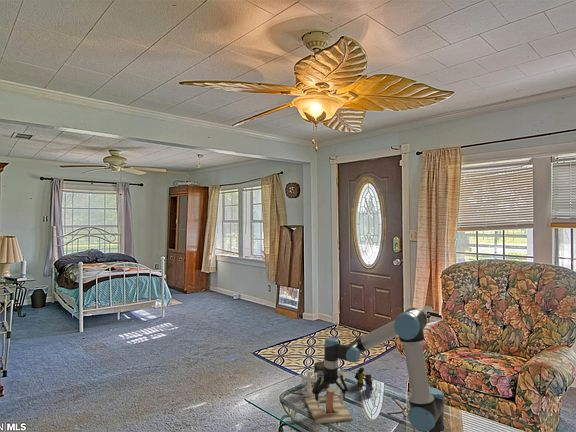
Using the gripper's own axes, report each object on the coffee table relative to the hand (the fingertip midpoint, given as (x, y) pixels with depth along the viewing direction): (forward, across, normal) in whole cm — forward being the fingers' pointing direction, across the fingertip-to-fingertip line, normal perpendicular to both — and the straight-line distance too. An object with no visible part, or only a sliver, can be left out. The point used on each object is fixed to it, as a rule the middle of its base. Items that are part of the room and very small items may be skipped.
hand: (329, 405), depth 208 cm
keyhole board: (+4, 0, -3) cm, 6 cm away
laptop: (+5, -19, -42) cm, 47 cm away
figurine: (+5, +6, -21) cm, 22 cm away
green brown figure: (+5, -5, -30) cm, 31 cm away
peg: (+5, 0, 0) cm, 5 cm away
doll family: (+5, -30, -21) cm, 37 cm away
